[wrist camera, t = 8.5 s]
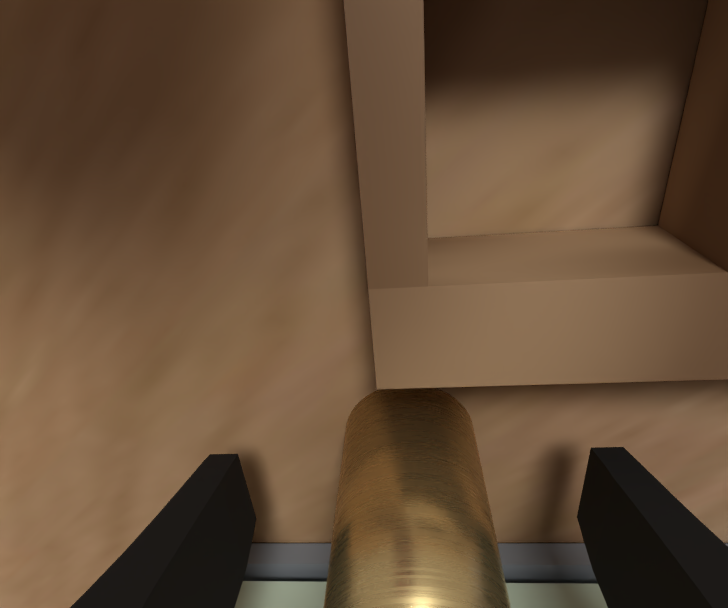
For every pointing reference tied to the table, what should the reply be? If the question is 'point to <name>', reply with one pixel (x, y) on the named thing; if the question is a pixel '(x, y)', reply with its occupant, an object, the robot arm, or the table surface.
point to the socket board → (535, 245)
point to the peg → (413, 509)
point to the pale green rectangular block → (527, 600)
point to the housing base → (515, 557)
